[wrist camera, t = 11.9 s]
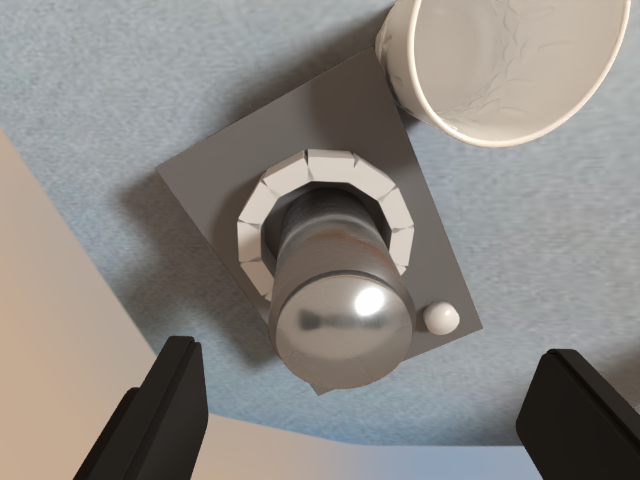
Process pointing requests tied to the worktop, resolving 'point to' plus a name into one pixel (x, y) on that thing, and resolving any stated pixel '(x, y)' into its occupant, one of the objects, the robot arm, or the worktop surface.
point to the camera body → (324, 171)
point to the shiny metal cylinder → (337, 294)
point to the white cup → (498, 63)
